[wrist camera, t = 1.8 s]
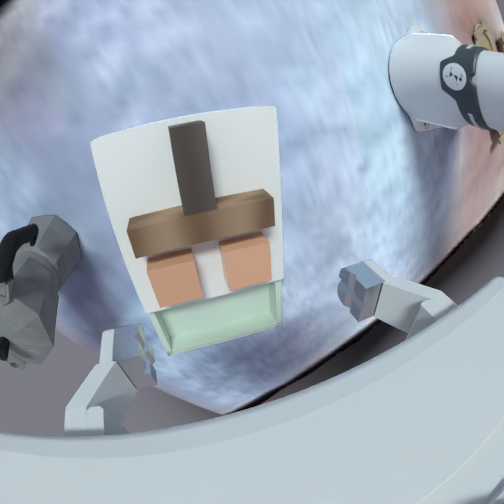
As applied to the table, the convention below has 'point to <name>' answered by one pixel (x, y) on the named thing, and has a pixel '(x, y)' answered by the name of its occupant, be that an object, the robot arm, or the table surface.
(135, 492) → the robot arm
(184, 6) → the table surface
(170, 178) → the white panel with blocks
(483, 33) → the tableware set
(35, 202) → the table surface
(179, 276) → the tile
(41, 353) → the coffeepot
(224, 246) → the tile
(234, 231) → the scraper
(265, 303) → the box
